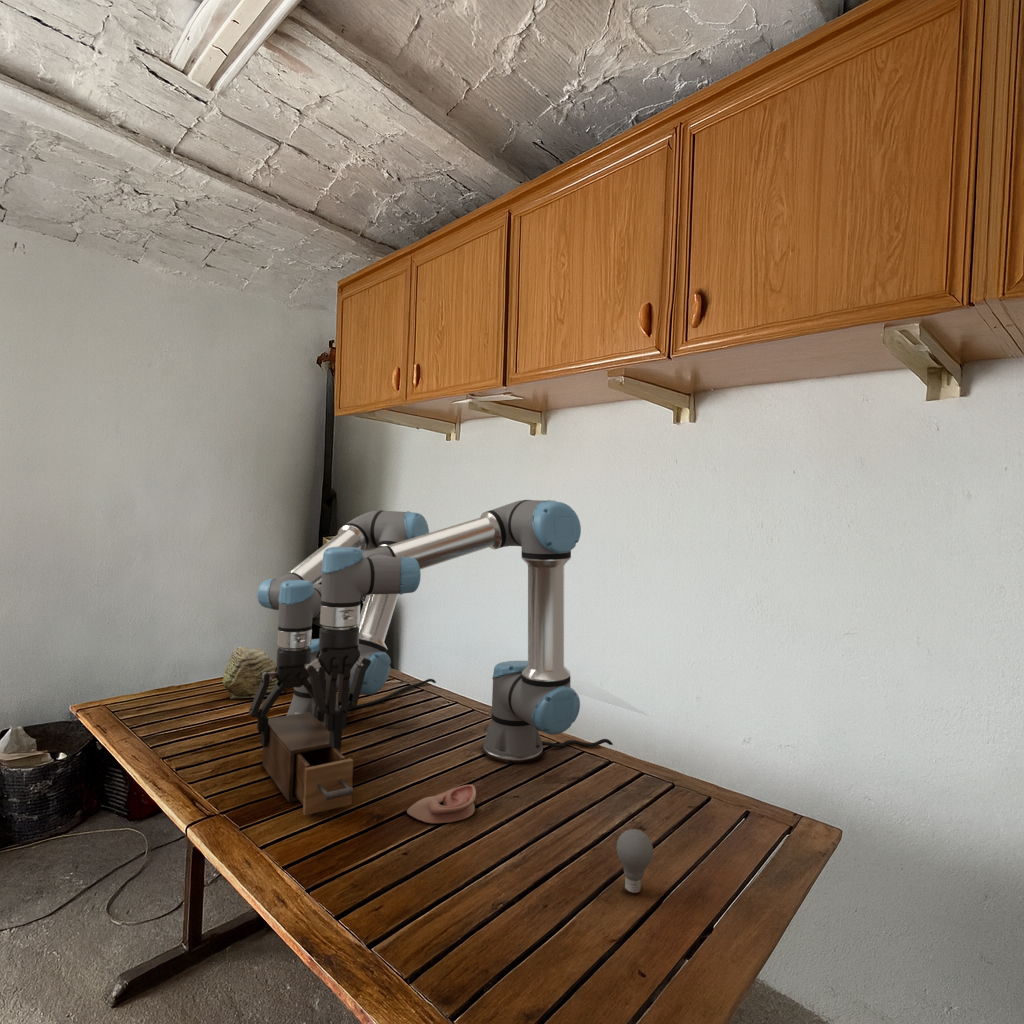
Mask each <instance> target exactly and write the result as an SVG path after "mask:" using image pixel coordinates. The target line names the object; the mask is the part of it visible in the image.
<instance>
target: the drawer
mask: <svg viewBox="0 0 1024 1024" xmlns="http://www.w3.org/2000/svg"><path fill="white" fill-rule="evenodd" d="M353 775H354V759H353V758H346V757H345V756H344V755H343V754H342V753H340V752H339V751H338V750H337V749H336V748H333V747H327V748H322V749H317V750H311V751H306V752H301V753H296V754H294V776H293V793H294V794H295V795H296V797H297V798H298V799H299V800H298V801H299V802H300V804H301V805H302V814H303V815H304V816H309V815H314V814H318V813H321V812H325V811H328V810H333V809H337V808H340V807H345V806H349V805H352V804H353V803H352V798H353V794H354V788H353V778H354V777H353Z"/></svg>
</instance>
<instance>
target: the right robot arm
mask: <svg viewBox="0 0 1024 1024" xmlns="http://www.w3.org/2000/svg"><path fill="white" fill-rule="evenodd" d="M581 535H582V526H581V521H580V518H579V516H578V514H577V512H576V511H575V510H574V508H572V507H571V506H570V505H568V504H566V503H565V502H562V501H556V500H551V499H548V500H547V499H546V500H543V499H542V500H541V499H540V500H539V499H538V500H537V499H536V500H535V499H522V500H517V501H513V502H511V503H508V504H504V505H502V506H499V507H496V508H493V509H491V510H486V511H484V512H482V513H481V515H480V517H478V518H475V519H472V520H467V521H465V522H462V523H458V524H455V525H451V526H448V527H444V528H441V529H438V530H435V531H432V532H429V533H428V534H424V535H421V536H418V537H414V538H411V539H408V540H404V541H401V542H398V543H394V544H391V545H388V546H385V547H381V548H378V549H377V548H373V549H366V550H361V549H360V548H355V547H330V548H327V549H326V550H325V551H324V554H323V563H322V570H321V572H322V582H321V585H322V588H321V611H320V617H319V624H320V625H321V627H320V628H319V634H318V636H319V637H318V639H319V651H318V653H317V655H316V659H315V660H314V661H312V662H311V663H310V664H309V663H306V664H305V665H304V668H305V670H306V671H307V673H308V674H309V677H310V681H311V686H312V691H313V696H314V700H315V705H316V709H317V710H318V711H319V712H321V713H325V714H326V719H325V727H326V729H327V730H328V731H330V732H329V744H330V745H331V746H332V747H333V748H339V747H341V748H342V738H343V736H342V735H343V730H344V729H346V728H347V725H348V714H349V713H350V711H351V710H353V709H352V708H356V706H357V705H358V704H359V703H358V702H359V699H360V696H361V695H360V691H361V688H362V684H363V680H364V676H365V672H366V670H367V669H368V667H369V665H370V664H371V660H369V659H368V658H366V657H363V656H361V655H360V651H359V648H358V645H359V628H358V627H357V625H358V624H359V622H360V614H361V597H362V596H367V595H374V594H399V595H403V594H404V595H405V594H412V593H415V592H416V591H417V590H418V588H419V586H420V583H421V575H422V574H421V570H423V569H427V568H430V567H433V566H436V565H438V564H441V563H445V562H449V561H451V560H455V559H457V558H461V557H463V556H464V557H465V556H466V555H470V554H472V553H476V552H479V551H482V550H485V549H488V548H489V549H492V550H498V549H501V548H505V547H507V548H508V547H521V560H522V561H523V562H525V563H526V565H527V660H507V661H501V662H498V663H497V664H495V665H494V668H493V672H492V673H493V674H492V678H491V679H492V696H491V697H492V698H491V719H490V720H491V721H490V723H489V724H486V725H485V726H484V727H483V733H485V737H484V740H483V742H482V753H483V754H484V755H485V756H486V757H487V758H489V759H490V760H493V761H496V762H499V763H505V764H525V763H526V764H527V763H531V762H534V761H537V760H539V759H540V758H542V756H543V752H544V751H543V750H544V748H543V747H545V746H546V747H550V748H551V747H552V748H559V749H561V748H564V747H566V746H569V745H578V746H580V747H586V748H596V747H598V746H600V745H603V744H604V743H606V744H608V745H609V746H613V745H614V744H613V742H612V741H611V739H609V738H602V739H599V740H596V741H595V742H586V741H585V742H584V741H581V740H575V739H567V740H565V741H563V742H561V743H555V742H550V741H543V740H542V738H541V737H542V736H541V735H540V732H542V733H545V734H547V735H552V736H554V735H560V734H562V733H564V732H566V731H567V730H569V729H570V728H571V726H572V724H574V723H575V721H577V718H578V716H579V713H580V711H581V710H580V709H581V700H580V696H579V694H578V693H577V692H576V690H575V689H574V688H573V687H571V671H570V670H569V669H568V668H567V667H566V666H565V566H566V564H567V563H568V562H569V561H571V559H572V551H573V549H574V548H576V546H577V543H579V541H580V538H581ZM355 663H356V665H357V666H356V669H355V672H354V676H353V680H352V684H351V687H350V691H349V678H350V670H351V669H352V667H353V666H354V664H355ZM319 665H321V666H322V668H323V669H324V670H325V672H326V696H325V701H324V696H323V691H322V686H321V682H320V677H319V674H318V673H317V672H318V671H319ZM338 675H339V688H338V690H337V695H338V709H339V711H338V710H335V705H336V681H337V678H338ZM356 709H357V708H356Z"/></svg>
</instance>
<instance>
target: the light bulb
mask: <svg viewBox="0 0 1024 1024" xmlns="http://www.w3.org/2000/svg"><path fill="white" fill-rule="evenodd" d="M615 849H616V854H617V857H618V859H619V861H620V863H621V865H622V867H623V873H624V874H623V875H624V876H625V878H624V888H625V890H627V891H628V892H630V893H634V894H635V893H639V892H640V891H641V889H642V887H641V886H642V879H643V877H644V875H645V871H646V868H647V867H648V866H649V864H650V863H651V861H652V859H653V855H654V847H653V843H652V841H651V838H649V836H648V835H647V834H646V833H645V832H643V831H642V830H641V829H636V828H629V829H627V830H625V831H623V832H622V833H621V834H620V835H619V837H618V839H617V841H616V847H615Z"/></svg>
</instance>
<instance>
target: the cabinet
mask: <svg viewBox="0 0 1024 1024" xmlns="http://www.w3.org/2000/svg"><path fill="white" fill-rule="evenodd" d="M329 732H330V731H328V730H327V729H326V727H325V726H324V725H323V724H322V723H321V722H320V721H319V720H318V719H317V718H316V717H315V716H314V715H312V714H311V713H310V712H307V713H301V714H294V715H288V716H286V715H282V716H275V717H268V744H267V747H263V746H262V762H261V763H262V764H261V765H262V767H263V768H264V770H265V771H266V772H267V774H268V775H269V777H270V778H271V780H272V781H273V782H274V784H275V785H276V787H277V788H278V789H279V791H280V792H281V794H282V795H283V797H284V799H286V801H287V802H288V803H293V802H297V801H299V799H298V798H297V797H296V795H295V794H294V793H293V776H294V754H296V753H301V752H306V751H311V750H317V749H322V748H327V747H332V746H331V745H330V744H329ZM336 749H337V750H338V751H339V752H340V753H341V752H342V751H341V750H342V746H341V747H339V748H336ZM341 754H342V753H341Z"/></svg>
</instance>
